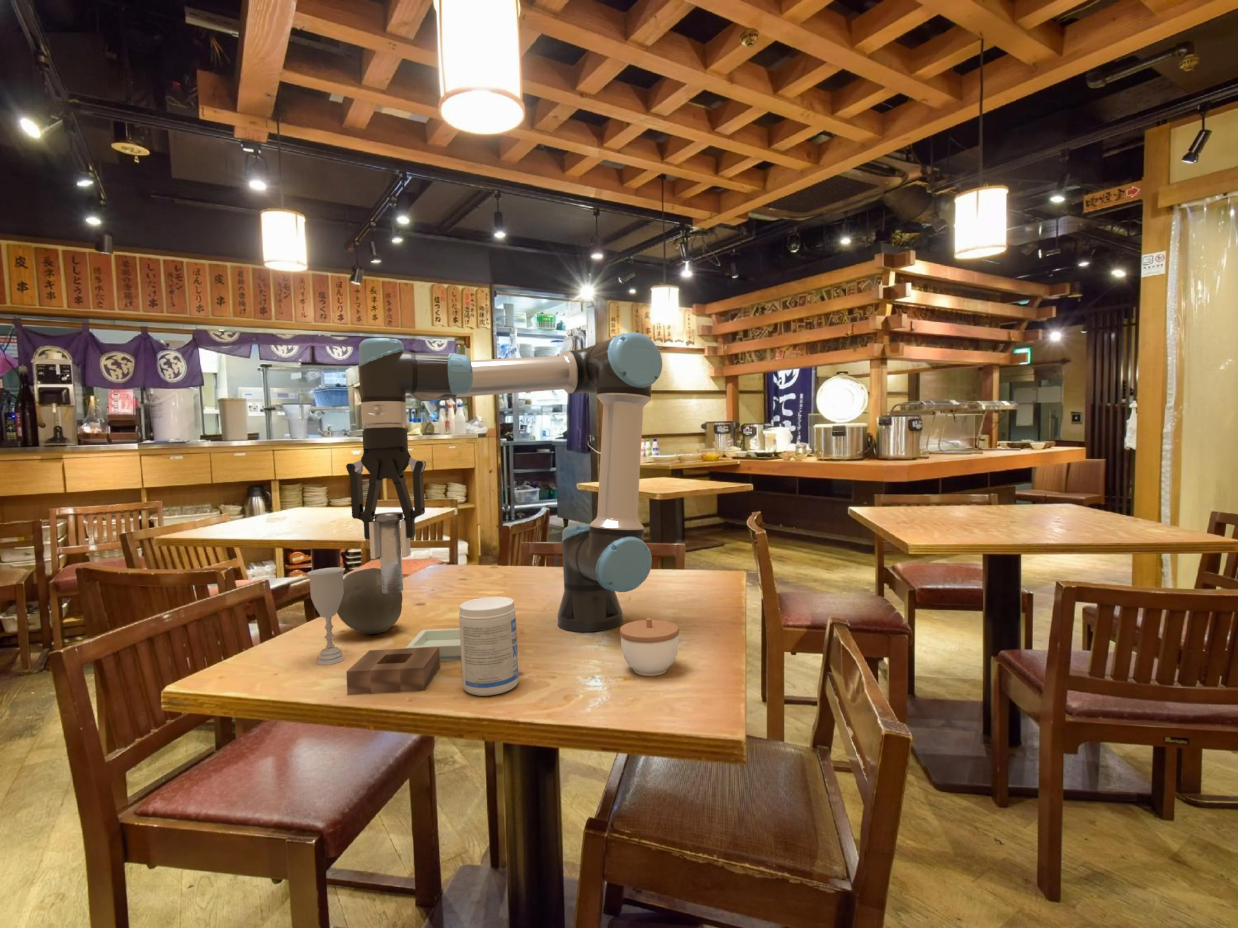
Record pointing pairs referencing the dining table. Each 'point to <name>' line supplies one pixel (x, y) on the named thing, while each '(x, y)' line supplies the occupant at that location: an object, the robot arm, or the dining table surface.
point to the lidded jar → (649, 645)
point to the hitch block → (393, 670)
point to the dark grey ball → (368, 603)
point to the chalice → (327, 606)
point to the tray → (440, 642)
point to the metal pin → (390, 551)
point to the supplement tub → (488, 645)
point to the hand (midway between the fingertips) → (390, 556)
